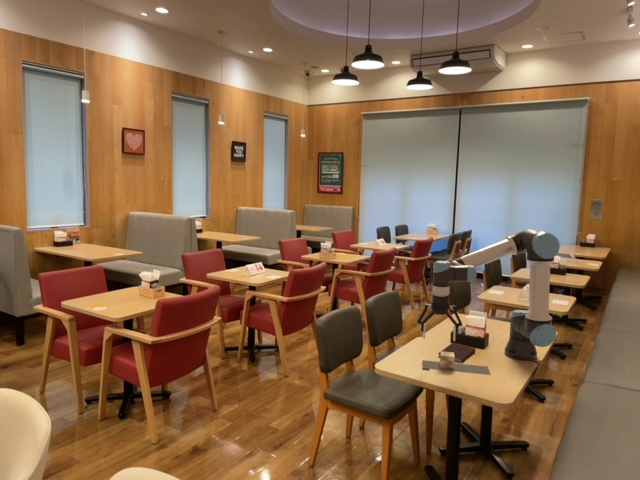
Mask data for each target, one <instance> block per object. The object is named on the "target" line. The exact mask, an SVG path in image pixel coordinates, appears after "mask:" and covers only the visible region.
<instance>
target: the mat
mask: <svg viewBox="0 0 640 480" xmlns="http://www.w3.org/2000/svg"><path fill="white" fill-rule="evenodd" d="M422 370H425V371H430V370H438V371H448V372H458V373H467V374H468V373H469V374H476V375H477V374H479V375H488V376H491V375H492V374H491V372H490V369H489V366H486V365H477V364H476V365H475V364H465V363H457V362H454V369H444V368H440V361H434V360H422Z"/></svg>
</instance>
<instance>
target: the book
mask: <svg viewBox="0 0 640 480" xmlns="http://www.w3.org/2000/svg"><path fill="white" fill-rule="evenodd" d="M441 351H443V352H454V357H455V359H454V362H460V363H464V362H465V361H466V360H467V359H468V358H469V357H471V356H472V355H474V354H475V353H476V348H475V347H472V346H468V345H465V344H461V343H455V342H452V343H450V344H448V345H447V346H446V347H445V348H444V349H442V350H441ZM438 357H439V358H440V351H439V352H438Z"/></svg>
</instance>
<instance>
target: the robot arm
mask: <svg viewBox="0 0 640 480" xmlns="http://www.w3.org/2000/svg"><path fill="white" fill-rule="evenodd" d="M559 241H560V240H559V239H558V238H557V236H556V235H554V234H553V233H551V232H548V231H543V230H538V229H537V230H536V229H525V230H522V231H519V232H515V233H514V234H511V235H508V236H506V238H505V239H503V240H502V241H499V242H497V243H494V244H491V245H488V246H486V247H482V248H481V249H479V250H478V249H477V250H476V251H473V252H471V253H468V254H466V255H463V256H460V257H457V258H454V259H446V260H436V261H435V262H434V263H433V269H432V295H431V296H432V297H431V298H432V299H431V304H428V303H425V305H424V308H423V310H422V311H421V313H420V315H419V317H418V319H417V324H420V331H421V332H423V333H422V335H423V337H422V338H423V340H425V339H426V323H427V322H428V320H430V319H431V318H432V317H433V316H434V315H435V314H436V315H441V316H444V315H446V317H448V319H449V320H450V321H451V322H452V324H453V332H452V334H453V335H452V340H453V341H452V342H456V335H457V334H458V333H459V327H462V326H463V323H462V320H461V318H460V316H459V314H458V311H457V308H456V305H455V304H452V305H450V285H451V283H454V282H455V283H462V282H463V283H469V282H474V281H475V280H476V279H477V268H479V267H482V266H484V265H487V264H490V263H491V262H494V261H498V260H500V259H502V258H505V257H508V256H510V255H512V256H513V255H514V256H516V255H518V254H526V261H527V262H528V263H529V294H528V310H527V309H526V310H525V309H515V310H513V311H512V312H511V313H510V327H509V338H508V341H507V343H506V345H505V348H504V354H505V355H506V356H508V357H509V358H512V359H515V360H519V361H533V360H536V359H537V358H538V351H537V348H536V346H537V347H539V348H545V347H549V346H550V345H552V343H554V342H555V340H556V338H557V333H558V332H557V329H556V328H555V327H554V325H553V316H551V315H550V313H549V312H550V286H551V285H550V282H551V280H550V278H551V265H552V263H554V261H555V257H556V256H557V254H558V253H559V251H560V247H561V246H560V245H561V244H560V242H559ZM429 309H431V311H430V312H429V313H428V314H427V315H426V313H427V311H428V310H429ZM450 309H451V311H453V315H455V318H456V320H457V321H456V320H455V319H454V317H453V316H452V315H451V314H450V312H449V310H450ZM425 315H426V316H425ZM424 316H425V317H424Z"/></svg>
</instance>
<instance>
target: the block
mask: <svg viewBox="0 0 640 480" xmlns="http://www.w3.org/2000/svg"><path fill="white" fill-rule="evenodd" d="M439 352H440V357H439V362H440V368H444V369H454V363H455V360H454V359H455V357H454V352H443V351H442V350H440V351H439Z"/></svg>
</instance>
